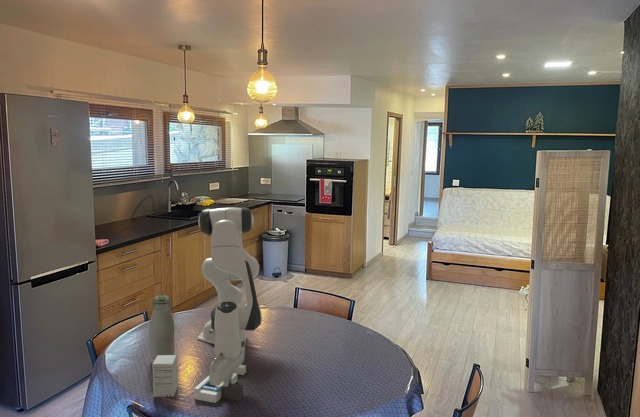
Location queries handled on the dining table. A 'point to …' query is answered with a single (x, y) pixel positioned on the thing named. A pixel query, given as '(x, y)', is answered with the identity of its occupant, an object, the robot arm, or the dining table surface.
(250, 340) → the dining table surface
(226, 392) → the banded gray post
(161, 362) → the supplement box
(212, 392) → the white angular block assembly
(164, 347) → the glass bottle
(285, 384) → the dining table surface
